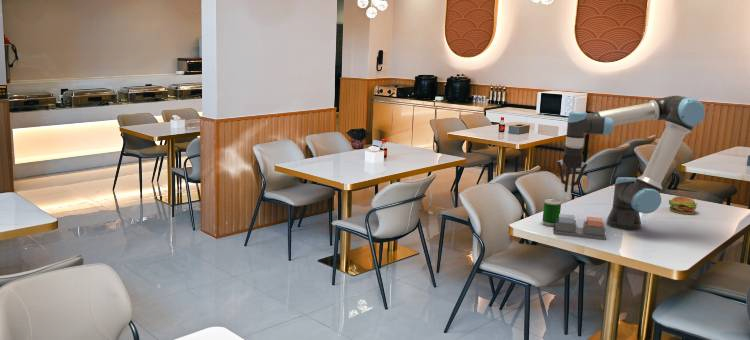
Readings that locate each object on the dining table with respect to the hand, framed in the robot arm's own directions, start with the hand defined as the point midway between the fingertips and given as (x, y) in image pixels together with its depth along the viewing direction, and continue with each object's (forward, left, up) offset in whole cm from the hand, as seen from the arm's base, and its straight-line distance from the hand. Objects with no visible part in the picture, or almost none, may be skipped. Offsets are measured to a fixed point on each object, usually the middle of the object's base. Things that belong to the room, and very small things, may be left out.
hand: (567, 199), depth 294 cm
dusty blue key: (0, 0, -11) cm, 11 cm away
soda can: (+6, -11, -15) cm, 20 cm away
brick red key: (-12, 0, -11) cm, 16 cm away
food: (-60, -68, -15) cm, 92 cm away
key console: (-6, 0, -15) cm, 16 cm away
